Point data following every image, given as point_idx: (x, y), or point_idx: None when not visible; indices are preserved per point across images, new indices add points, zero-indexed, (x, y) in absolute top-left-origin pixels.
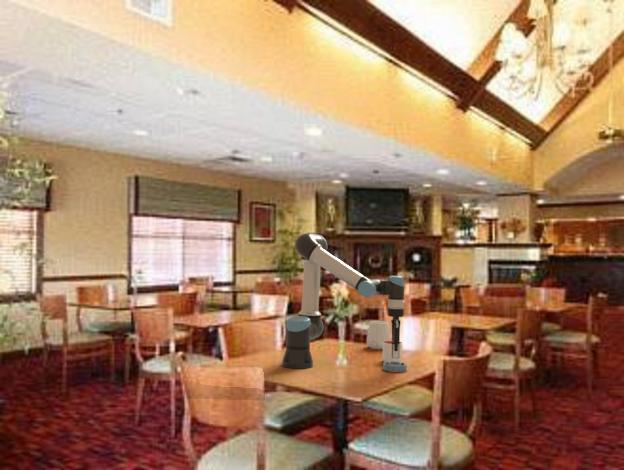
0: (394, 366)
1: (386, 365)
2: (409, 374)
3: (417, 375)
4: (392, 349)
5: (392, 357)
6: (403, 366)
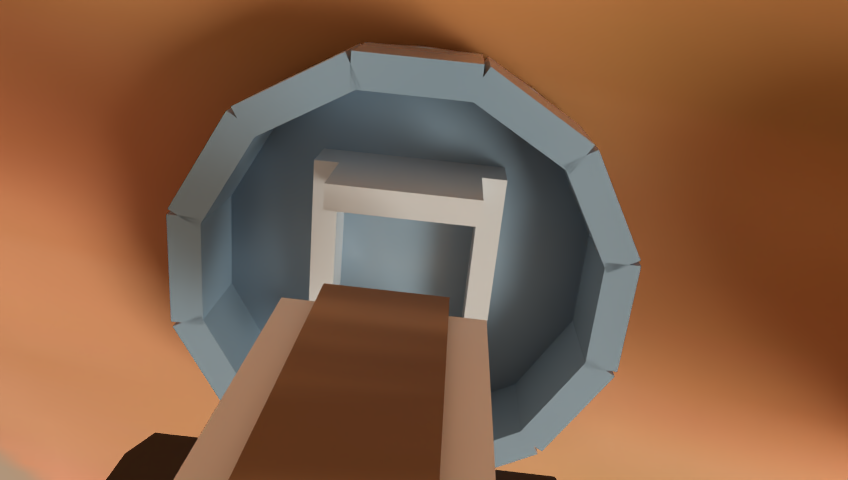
0: (169, 233)
1: (260, 92)
2: (85, 385)
3: (43, 468)
4: (262, 415)
5: (318, 296)
6: (223, 393)
